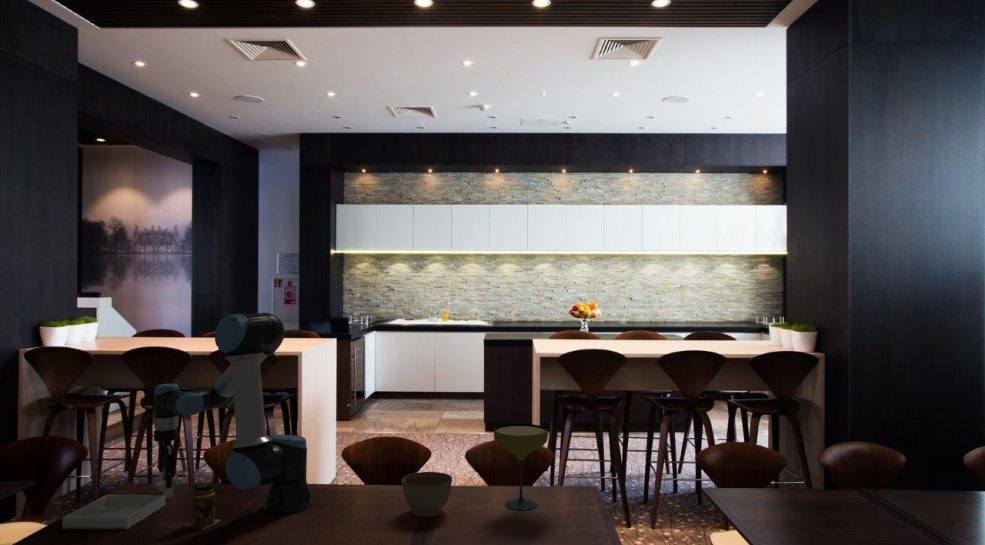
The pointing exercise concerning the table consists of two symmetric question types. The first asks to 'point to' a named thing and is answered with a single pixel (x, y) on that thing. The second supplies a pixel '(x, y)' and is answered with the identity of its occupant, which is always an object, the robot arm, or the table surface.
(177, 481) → the pipe connector
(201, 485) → the condiment
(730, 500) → the table surface
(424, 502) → the planter bowl
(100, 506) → the tray
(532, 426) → the cocktail glass
